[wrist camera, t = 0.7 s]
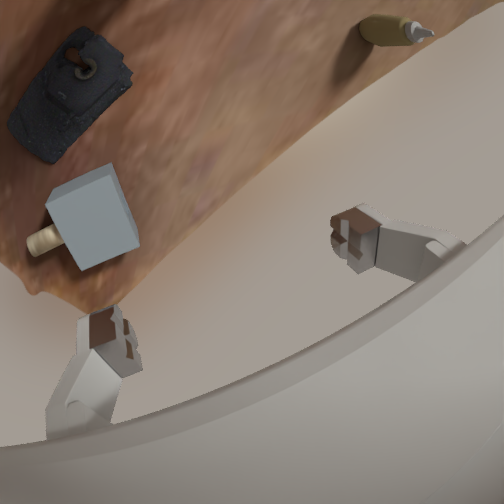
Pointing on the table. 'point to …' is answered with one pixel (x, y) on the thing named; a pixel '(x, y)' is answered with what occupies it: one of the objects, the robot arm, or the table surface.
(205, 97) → the table surface
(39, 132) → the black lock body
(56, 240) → the dowel peg
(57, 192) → the socket block
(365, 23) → the squeeze bottle
